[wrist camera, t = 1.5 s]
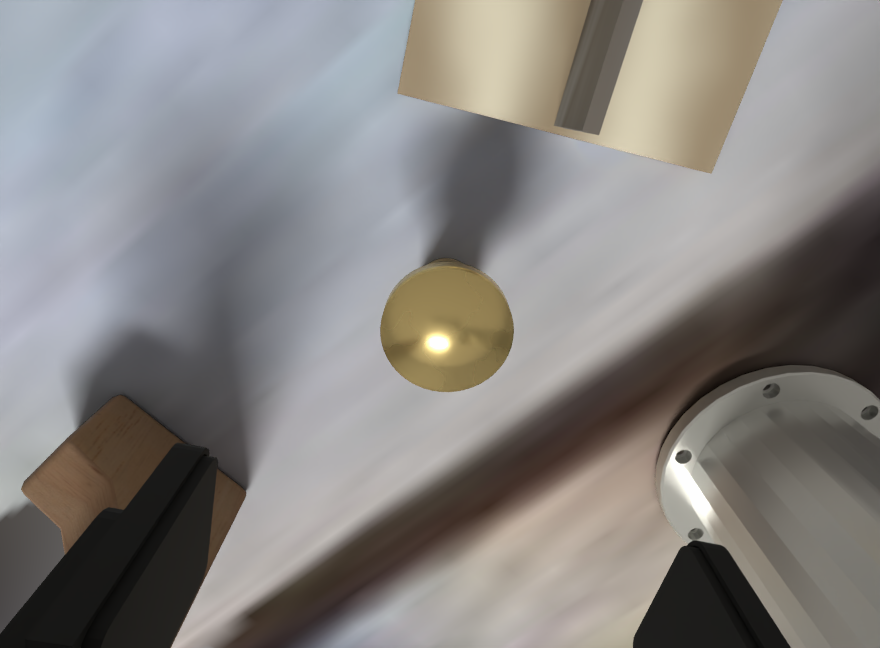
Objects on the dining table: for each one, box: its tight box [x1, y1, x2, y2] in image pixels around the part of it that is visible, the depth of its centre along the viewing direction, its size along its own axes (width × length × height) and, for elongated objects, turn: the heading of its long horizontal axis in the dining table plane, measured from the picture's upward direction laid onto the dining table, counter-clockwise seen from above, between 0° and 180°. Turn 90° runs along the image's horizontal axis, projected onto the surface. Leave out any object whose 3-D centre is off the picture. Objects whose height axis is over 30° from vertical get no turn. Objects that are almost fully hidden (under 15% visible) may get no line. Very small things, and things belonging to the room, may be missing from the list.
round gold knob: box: [380, 258, 514, 392], centre depth 24 cm, size 5×5×6 cm
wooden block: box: [21, 395, 246, 648], centre depth 23 cm, size 9×4×18 cm, turn 42°
